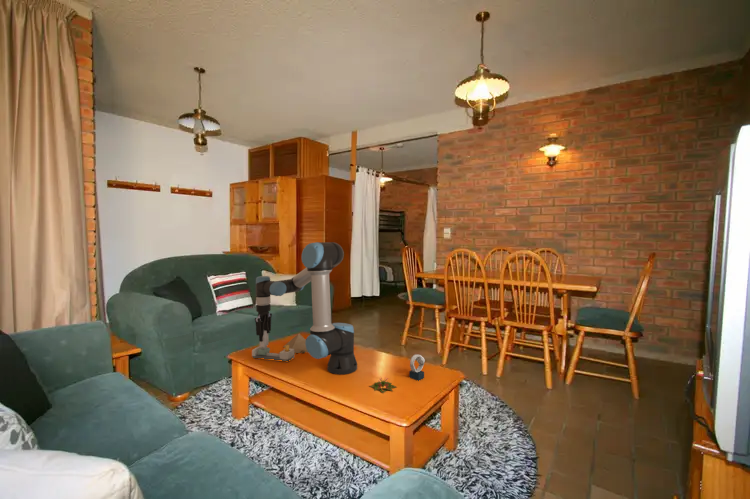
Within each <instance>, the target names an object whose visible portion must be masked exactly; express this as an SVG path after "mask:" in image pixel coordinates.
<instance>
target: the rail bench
mask: <svg viewBox="0 0 750 499" xmlns="http://www.w3.org/2000/svg"><path fill="white" fill-rule="evenodd" d="M259 349H261V347H260V345H258V346H256V347H255V348H253V349H251V358H252V357H253V358H264V359H274V360H282V361H289V360H291V359H292V358H293V359H295V354H294V349H289V351H288V352H286V351H285V349H284V348H283V350H281V351H280V352H279V353H277V352H269V353H266V355H259V354H258V350H259ZM293 359H292V360H293ZM292 360H291V361H292ZM289 362H290V361H289Z"/></svg>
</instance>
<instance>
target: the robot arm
mask: <svg viewBox="0 0 750 499" xmlns="http://www.w3.org/2000/svg"><path fill="white" fill-rule="evenodd" d="M344 256H345V252H344V249H343V247H342V246H341V244H339V243H337V242H335V241H333V242H332V241H328V242H327V241H326V242H324V241H323V242H320V241H319V242H318V241H316V242H310V243H308V244H306V246H305V247H304V248H303V250H302V252H301V263H302V264H303V266H304V267H305V268H304V269H302V270H301V271H300V272H298V273H297V274H296V275H294V276H293V277H291V278H290V279H282V280H271V277H270V276H268V275H261V276H257V277H255V296H256V298H255V299H256V300H255V304H256V307H255V310H256V312H257V313H258V314H257V317H255V318H254V322H255V332H256V333H255V334H256V336H258V337H259V338H258V342H259V346H260V347H265V336H264V330H266V331H267V346H268V345H269V334H271V330H272V316H273V313H270V312H271V296H274V297H281V296H284V295H285V294H289V293H290V294H291V293H297V292H301V291H302V290H304V288H305V286H306V285H308V284H309V283H311V306H312V309H311V310H312V326H311V327H310V328H309V334H310V335H309V334H308V336H307V337H306V338H305V340H306V341H305V345H306V349H307V351H308V352H307V353H308V354H309V355H310V356H311V357H312V358H314V359H316V360H317V359H318V360H319V359H323V358H324V359H325V358H327V357H328V356H329V360H328V363H327V371H328V372H329V373H331V374H333V375H348V374H352V373H355V372H356V371H357V370H358V361H357V359H356V355H355V350H354V349H355V329H354V325H353V324H350V323H345V322H333V323H332V310H331V308H332V307H331V289H330V288H331V287H330V274H331V272H332V271H333V269H334V268H336V267H338V265H340V264H341V263H342V261H343V260H344Z"/></svg>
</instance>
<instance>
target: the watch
mask: <svg viewBox="0 0 750 499" xmlns="http://www.w3.org/2000/svg"><path fill="white" fill-rule="evenodd" d="M415 361H416V362H417V363H418V367H417V368H416V365H415ZM425 361H426V360H425V358H424V357H423V356H422V355H421V354H417V353H415V354H413V355H412V356H411V358H410V361H409V367H410V370H409V374H408V375H409V377H410V378H409V379H413V380H415V381H417V380H418V382H420V381H421V379H422V380H424V379H425V371H423V370H422V369H423V367H424V365H425ZM423 378H424V379H423ZM419 380H420V381H419Z"/></svg>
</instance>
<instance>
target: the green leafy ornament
mask: <svg viewBox="0 0 750 499" xmlns="http://www.w3.org/2000/svg"><path fill="white" fill-rule="evenodd" d="M387 380H388V378H387V377H384V380H383V378H382V377H380V379H379V380H378V381H377V382H374V384H372V385H370V386H369V387H370V388H373V389H374V390H373V392H375V391H377V390H379V391H380V392H381V393H382V394H384V393H385V392H386V391H387V390H388V391H391V392H393V389H394V388H397V386H395V385H392V383H393V382H390V381H387Z"/></svg>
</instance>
